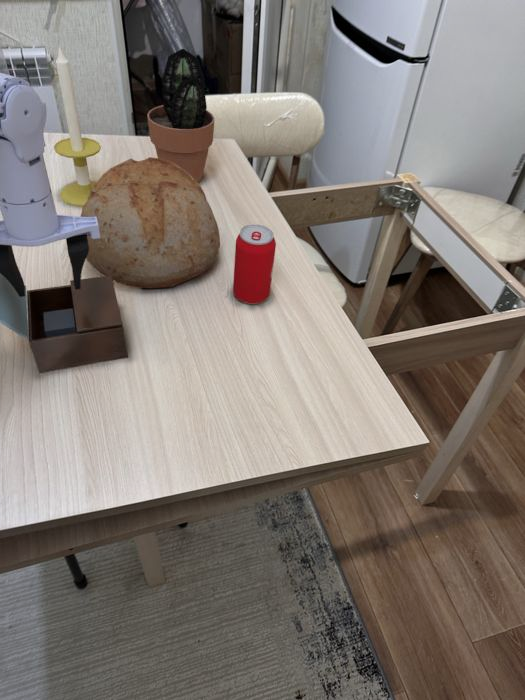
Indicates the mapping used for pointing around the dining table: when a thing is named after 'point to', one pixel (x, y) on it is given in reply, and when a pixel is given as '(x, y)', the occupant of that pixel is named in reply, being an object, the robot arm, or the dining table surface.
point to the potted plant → (182, 116)
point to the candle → (74, 140)
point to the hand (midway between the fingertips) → (50, 288)
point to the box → (77, 325)
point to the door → (13, 308)
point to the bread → (151, 225)
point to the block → (59, 323)
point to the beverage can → (253, 264)
